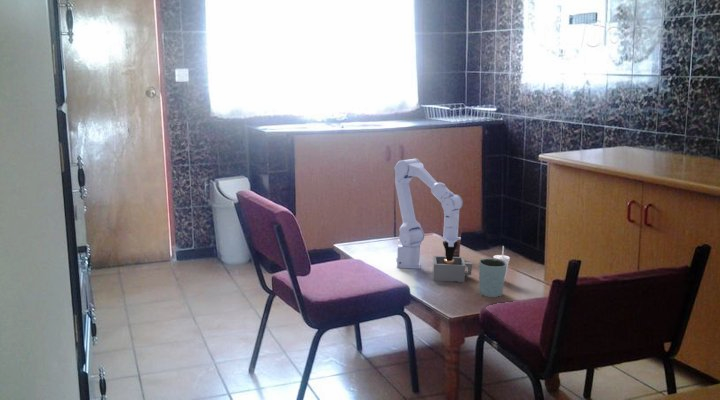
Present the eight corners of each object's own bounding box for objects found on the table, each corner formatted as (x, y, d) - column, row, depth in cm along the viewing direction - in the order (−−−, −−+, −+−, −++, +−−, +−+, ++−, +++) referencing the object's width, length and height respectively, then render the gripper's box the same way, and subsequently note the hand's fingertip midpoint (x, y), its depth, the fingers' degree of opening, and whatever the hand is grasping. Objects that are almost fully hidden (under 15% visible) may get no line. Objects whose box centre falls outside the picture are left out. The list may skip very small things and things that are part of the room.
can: (459, 260, 311) (461, 228, 309) (444, 258, 313) (446, 227, 310) (460, 256, 317) (462, 224, 314) (445, 255, 318) (447, 223, 316)
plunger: (437, 275, 283) (438, 262, 282) (436, 268, 292) (437, 256, 291) (460, 276, 283) (461, 263, 282) (459, 269, 291) (459, 257, 290)
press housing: (433, 280, 282) (434, 264, 281) (432, 271, 294) (433, 255, 293) (471, 282, 281) (472, 266, 280) (469, 273, 293) (470, 257, 292)
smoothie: (498, 284, 280) (501, 249, 277) (488, 279, 286) (490, 244, 283) (511, 282, 283) (514, 247, 280) (501, 277, 289) (503, 243, 286)
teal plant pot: (485, 287, 276) (487, 256, 274) (509, 293, 270) (512, 262, 267) (471, 293, 268) (474, 262, 266) (496, 300, 262) (498, 267, 260)
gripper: (462, 231, 276) (460, 265, 279) (460, 222, 291) (458, 255, 293) (443, 230, 277) (442, 264, 280) (442, 221, 291) (440, 254, 294)
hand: (449, 259), depth 286 cm, fingers closed, pressing on plunger
